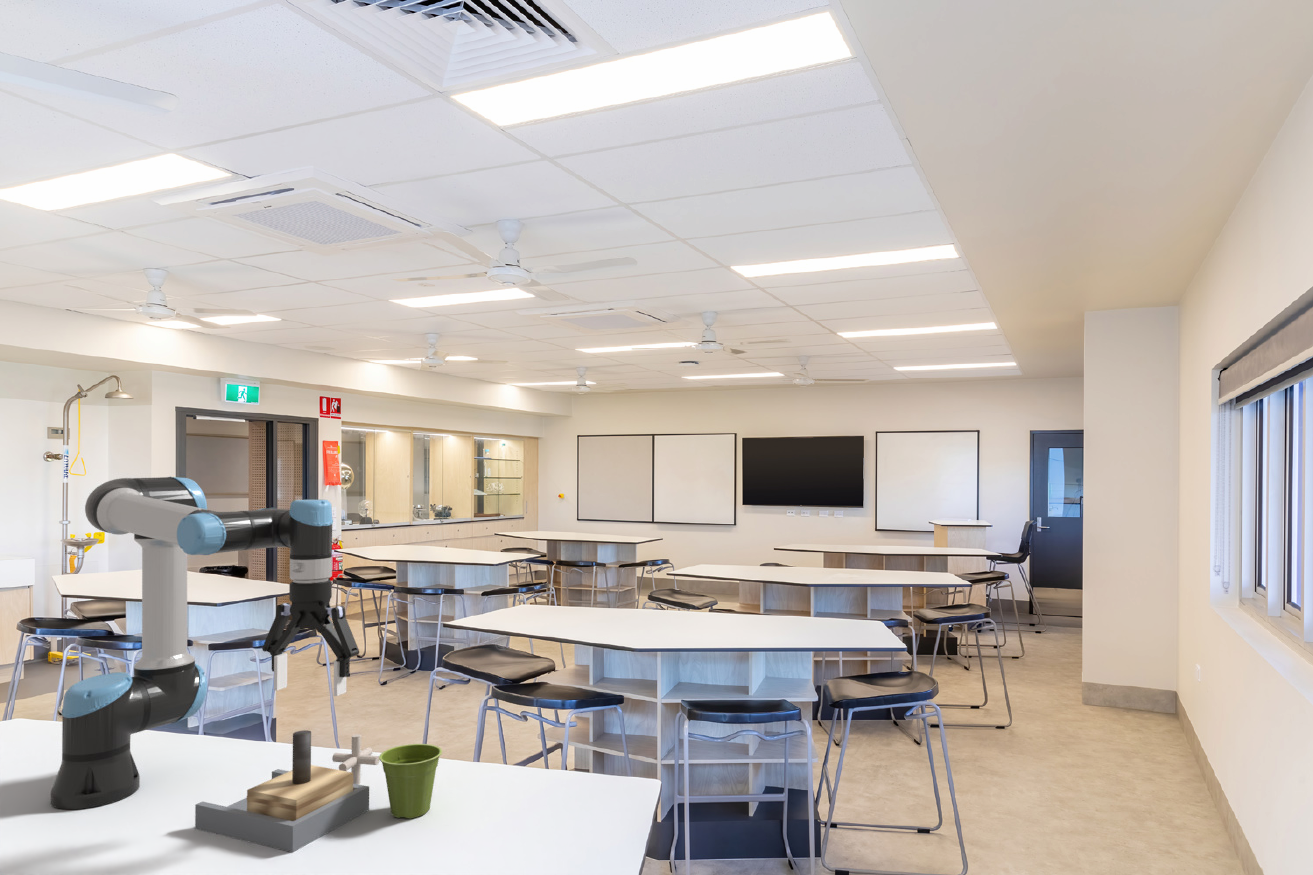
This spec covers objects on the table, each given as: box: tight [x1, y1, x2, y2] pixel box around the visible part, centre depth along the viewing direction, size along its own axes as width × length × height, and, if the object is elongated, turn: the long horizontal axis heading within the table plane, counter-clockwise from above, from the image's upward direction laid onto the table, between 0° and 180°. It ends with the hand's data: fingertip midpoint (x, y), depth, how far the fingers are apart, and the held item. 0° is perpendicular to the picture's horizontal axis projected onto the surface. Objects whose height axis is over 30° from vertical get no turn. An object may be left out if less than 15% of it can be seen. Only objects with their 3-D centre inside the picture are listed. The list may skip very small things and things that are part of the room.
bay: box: [194, 768, 370, 853], centre depth 158 cm, size 24×19×4 cm
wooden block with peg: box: [246, 729, 353, 821], centre depth 156 cm, size 12×14×15 cm
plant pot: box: [378, 743, 443, 819], centre depth 161 cm, size 12×12×11 cm
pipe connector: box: [331, 733, 380, 785], centre depth 175 cm, size 10×10×10 cm
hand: (309, 691), depth 158 cm, fingers open, 13 cm apart
